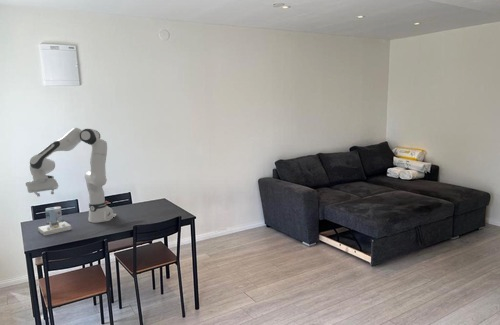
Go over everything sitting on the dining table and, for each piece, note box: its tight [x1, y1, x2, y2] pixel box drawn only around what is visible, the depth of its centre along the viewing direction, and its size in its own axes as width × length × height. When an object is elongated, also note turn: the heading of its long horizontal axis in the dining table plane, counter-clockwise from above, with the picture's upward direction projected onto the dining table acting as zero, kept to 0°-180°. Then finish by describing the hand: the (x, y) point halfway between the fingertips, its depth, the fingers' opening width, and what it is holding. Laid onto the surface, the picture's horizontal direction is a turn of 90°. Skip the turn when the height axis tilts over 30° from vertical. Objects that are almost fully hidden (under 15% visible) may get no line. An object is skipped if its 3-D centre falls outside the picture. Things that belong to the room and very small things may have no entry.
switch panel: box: [37, 220, 72, 236], centre depth 261 cm, size 13×18×6 cm
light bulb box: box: [45, 206, 63, 225], centre depth 280 cm, size 11×7×11 cm, turn 122°
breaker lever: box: [49, 211, 57, 226], centre depth 262 cm, size 2×3×11 cm
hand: (45, 194), depth 267 cm, fingers open, 8 cm apart
